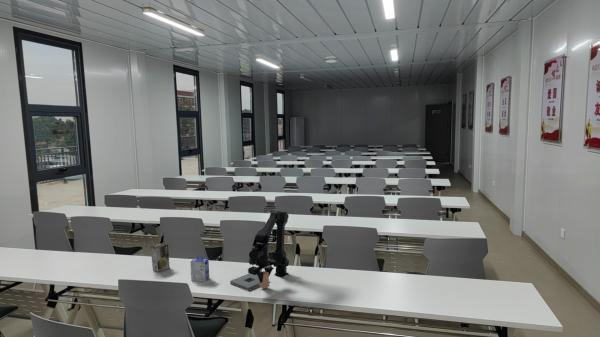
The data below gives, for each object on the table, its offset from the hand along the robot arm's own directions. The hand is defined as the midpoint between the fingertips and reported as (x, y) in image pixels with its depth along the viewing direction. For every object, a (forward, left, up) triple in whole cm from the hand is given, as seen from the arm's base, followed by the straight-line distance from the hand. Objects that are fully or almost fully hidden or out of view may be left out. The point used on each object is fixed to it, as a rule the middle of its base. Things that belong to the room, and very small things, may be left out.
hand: (263, 281), depth 223 cm
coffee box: (+21, -76, -4) cm, 79 cm away
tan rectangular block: (0, 0, -3) cm, 3 cm away
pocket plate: (0, -12, -4) cm, 13 cm away
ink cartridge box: (+15, -40, -4) cm, 43 cm away
